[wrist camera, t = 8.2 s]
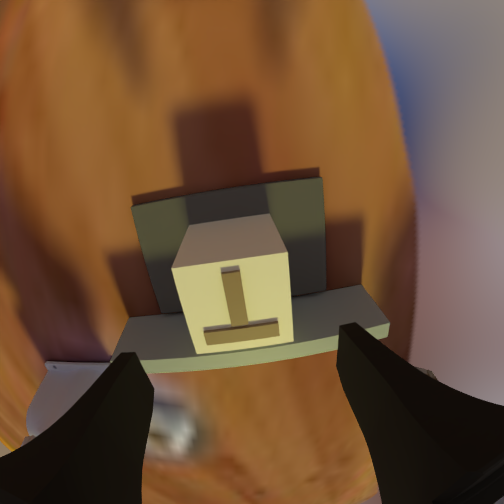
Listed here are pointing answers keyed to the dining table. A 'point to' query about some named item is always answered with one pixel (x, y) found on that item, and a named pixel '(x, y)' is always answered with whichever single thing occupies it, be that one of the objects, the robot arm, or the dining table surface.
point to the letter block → (234, 284)
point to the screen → (305, 343)
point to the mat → (235, 206)
